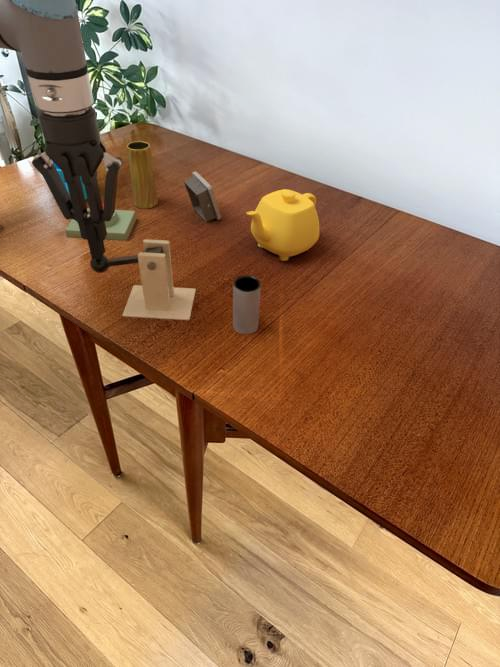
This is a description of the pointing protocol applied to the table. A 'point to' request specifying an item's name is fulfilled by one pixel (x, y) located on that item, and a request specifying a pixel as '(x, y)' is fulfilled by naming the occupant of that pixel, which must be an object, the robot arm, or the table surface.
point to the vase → (142, 175)
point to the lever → (119, 260)
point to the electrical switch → (202, 197)
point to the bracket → (158, 288)
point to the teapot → (285, 223)
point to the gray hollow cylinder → (246, 304)
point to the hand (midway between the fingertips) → (98, 254)
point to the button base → (109, 226)
